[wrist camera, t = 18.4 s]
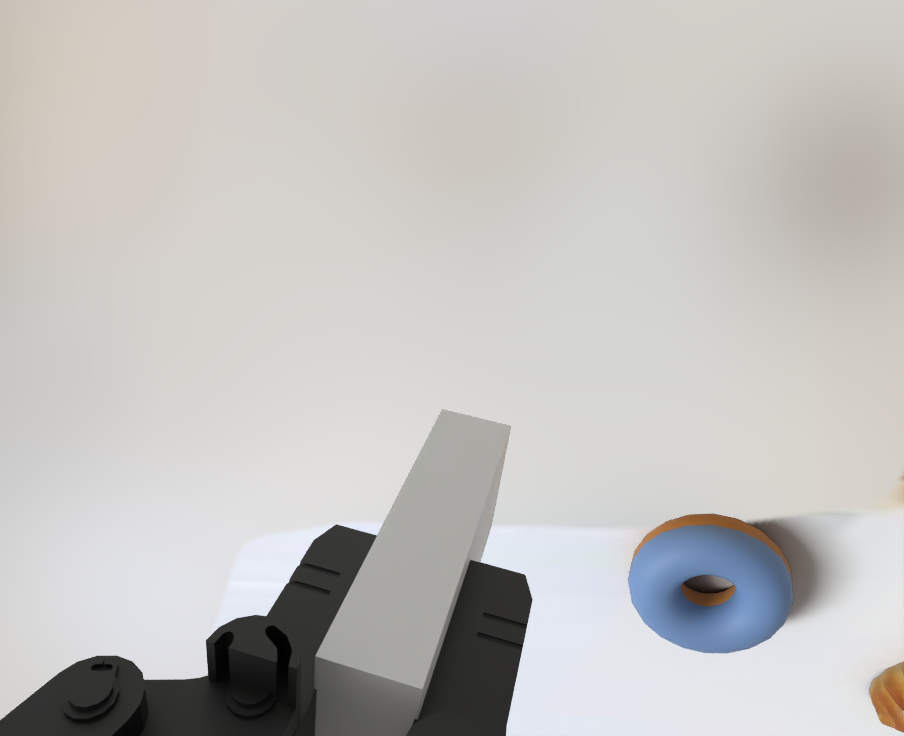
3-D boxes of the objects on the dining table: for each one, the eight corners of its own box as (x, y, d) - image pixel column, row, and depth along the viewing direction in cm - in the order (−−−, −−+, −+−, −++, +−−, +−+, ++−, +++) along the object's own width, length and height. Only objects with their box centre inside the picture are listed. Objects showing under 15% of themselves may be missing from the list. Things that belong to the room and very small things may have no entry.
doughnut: (603, 589, 50) (606, 640, 46) (662, 479, 46) (673, 525, 41) (737, 633, 50) (753, 688, 46) (810, 528, 46) (835, 578, 42)
